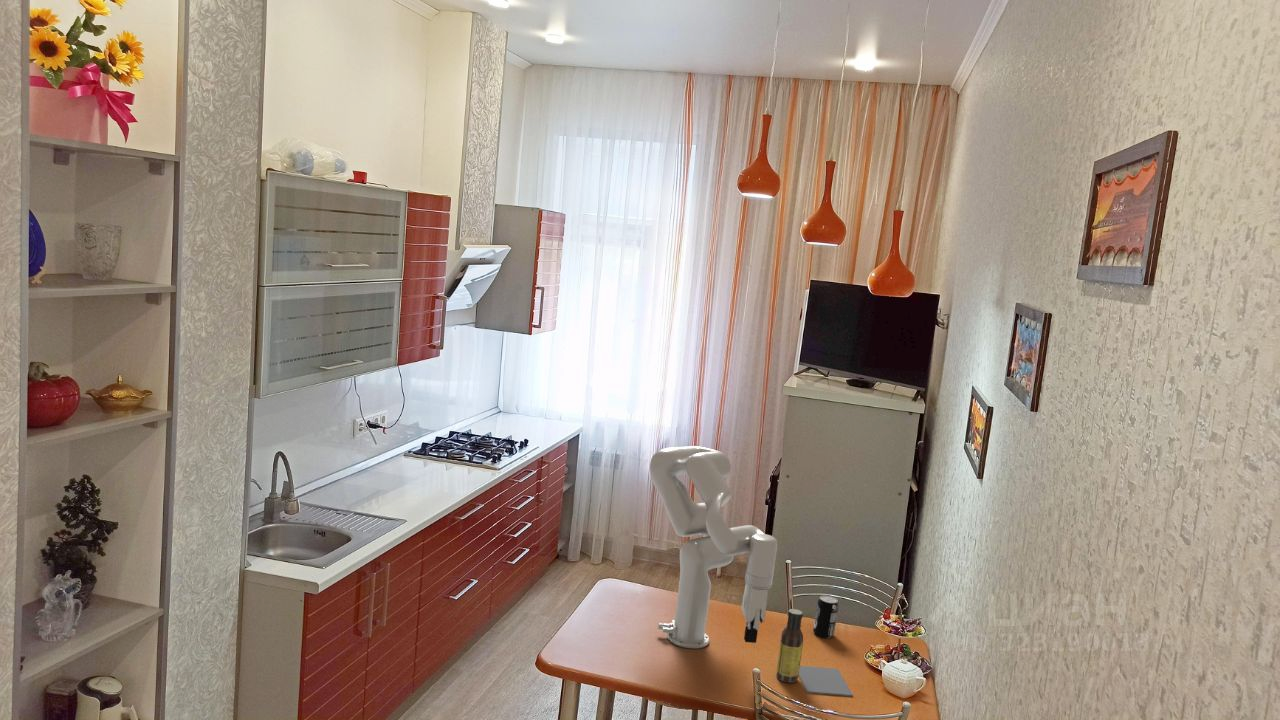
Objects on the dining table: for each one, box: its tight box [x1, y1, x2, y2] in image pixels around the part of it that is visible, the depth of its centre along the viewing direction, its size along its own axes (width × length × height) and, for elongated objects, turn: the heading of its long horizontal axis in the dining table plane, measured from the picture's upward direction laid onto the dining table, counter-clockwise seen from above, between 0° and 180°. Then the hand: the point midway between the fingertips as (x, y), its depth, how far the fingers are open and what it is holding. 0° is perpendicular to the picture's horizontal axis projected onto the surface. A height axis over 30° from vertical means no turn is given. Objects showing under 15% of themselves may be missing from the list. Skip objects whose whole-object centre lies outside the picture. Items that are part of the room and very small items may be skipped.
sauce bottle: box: [775, 608, 804, 683], centre depth 259 cm, size 6×6×20 cm
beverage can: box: [813, 594, 839, 639], centre depth 292 cm, size 7×7×12 cm
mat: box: [798, 665, 854, 697], centre depth 261 cm, size 13×15×1 cm
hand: (749, 641), depth 258 cm, fingers closed
